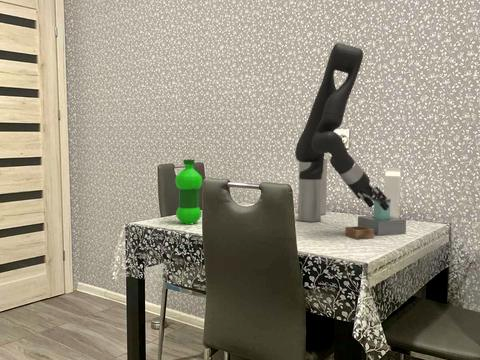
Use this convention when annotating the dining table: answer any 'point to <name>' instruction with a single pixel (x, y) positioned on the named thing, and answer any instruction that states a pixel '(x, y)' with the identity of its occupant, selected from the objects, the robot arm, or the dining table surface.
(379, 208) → the plug
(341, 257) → the dining table surface
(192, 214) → the plastic bottle
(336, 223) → the dining table surface
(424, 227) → the dining table surface
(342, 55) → the robot arm
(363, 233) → the brown wooden square frame
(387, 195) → the milk
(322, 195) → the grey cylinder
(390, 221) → the port
